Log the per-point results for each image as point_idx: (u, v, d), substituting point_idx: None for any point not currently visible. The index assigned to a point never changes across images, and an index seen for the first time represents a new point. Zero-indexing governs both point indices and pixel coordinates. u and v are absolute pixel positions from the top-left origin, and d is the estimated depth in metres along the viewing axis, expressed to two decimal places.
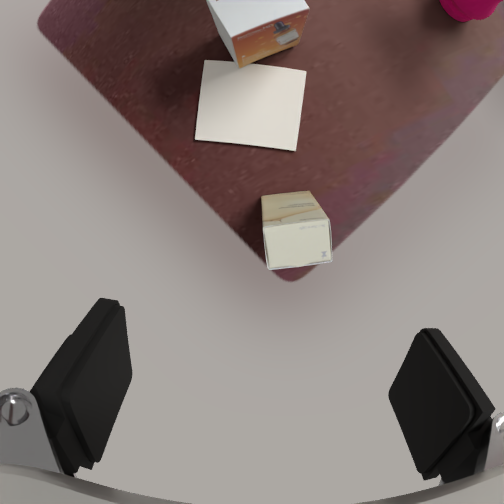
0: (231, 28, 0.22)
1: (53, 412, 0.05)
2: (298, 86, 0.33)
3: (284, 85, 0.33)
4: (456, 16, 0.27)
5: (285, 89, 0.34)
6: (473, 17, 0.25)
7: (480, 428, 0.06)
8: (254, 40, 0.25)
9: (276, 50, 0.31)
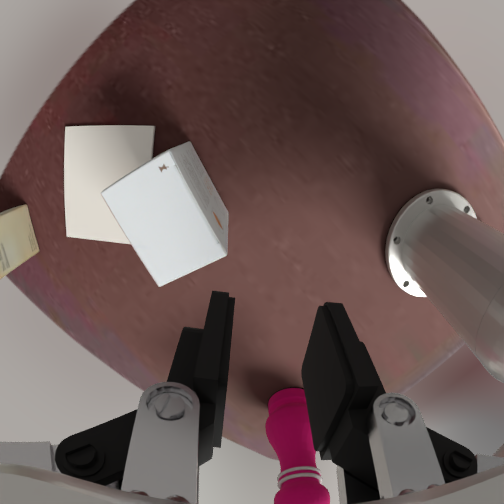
0: (113, 193, 0.19)
1: (205, 400, 0.06)
2: None
3: None
4: (269, 404, 0.39)
5: None
6: None
7: (367, 407, 0.07)
8: None
9: None
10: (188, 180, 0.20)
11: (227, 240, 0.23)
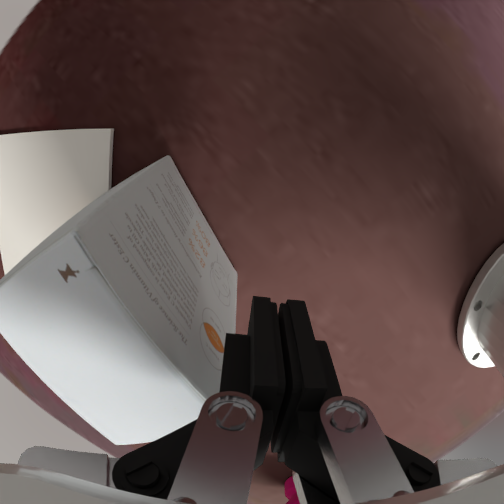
0: None
1: (263, 407, 0.06)
2: None
3: None
4: (287, 486, 0.27)
5: None
6: None
7: (319, 410, 0.06)
8: None
9: None
10: (136, 292, 0.08)
11: None
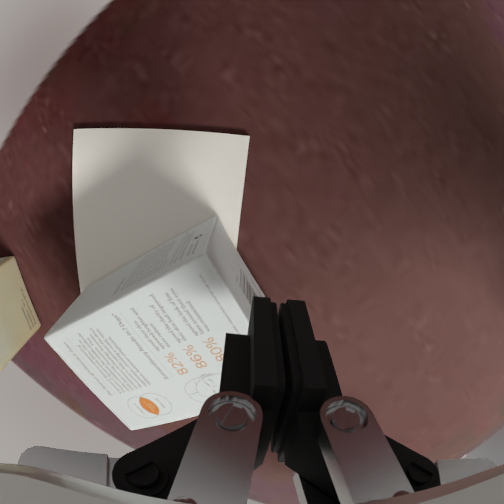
0: None
1: (263, 407, 0.06)
2: None
3: None
4: None
5: None
6: None
7: (319, 410, 0.06)
8: None
9: None
10: (78, 367, 0.14)
11: (160, 423, 0.16)
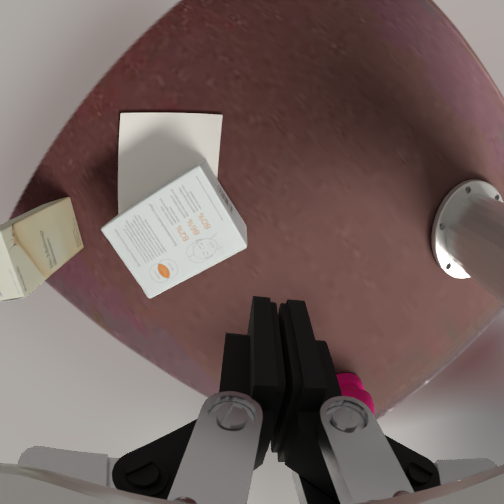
0: None
1: (263, 407, 0.06)
2: None
3: None
4: None
5: None
6: None
7: (319, 410, 0.06)
8: None
9: None
10: (121, 246, 0.26)
11: (169, 287, 0.28)
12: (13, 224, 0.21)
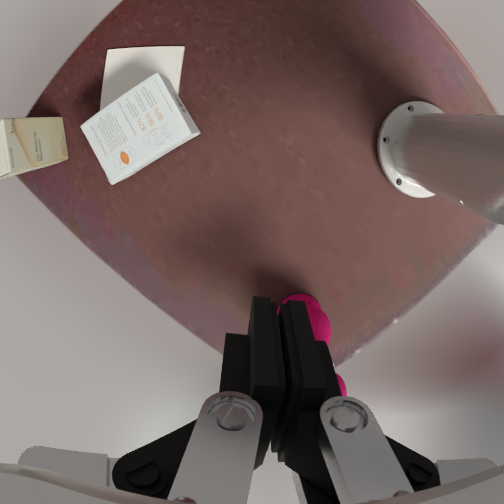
0: None
1: (263, 407, 0.06)
2: None
3: None
4: (278, 311, 0.43)
5: None
6: None
7: (319, 410, 0.06)
8: None
9: None
10: (93, 139, 0.29)
11: (128, 172, 0.31)
12: (14, 118, 0.24)
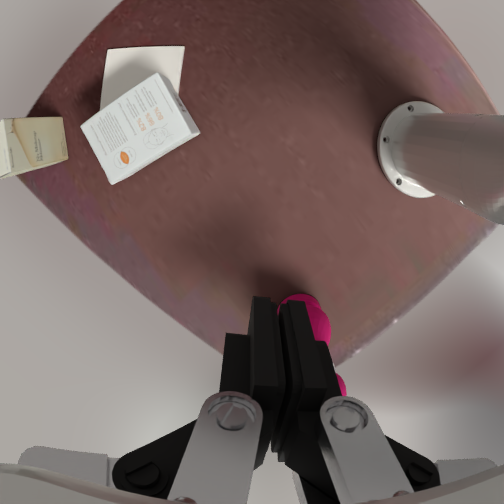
0: None
1: (263, 407, 0.06)
2: None
3: None
4: (278, 311, 0.43)
5: None
6: None
7: (319, 410, 0.06)
8: None
9: None
10: (93, 139, 0.29)
11: (128, 172, 0.31)
12: (14, 118, 0.24)
